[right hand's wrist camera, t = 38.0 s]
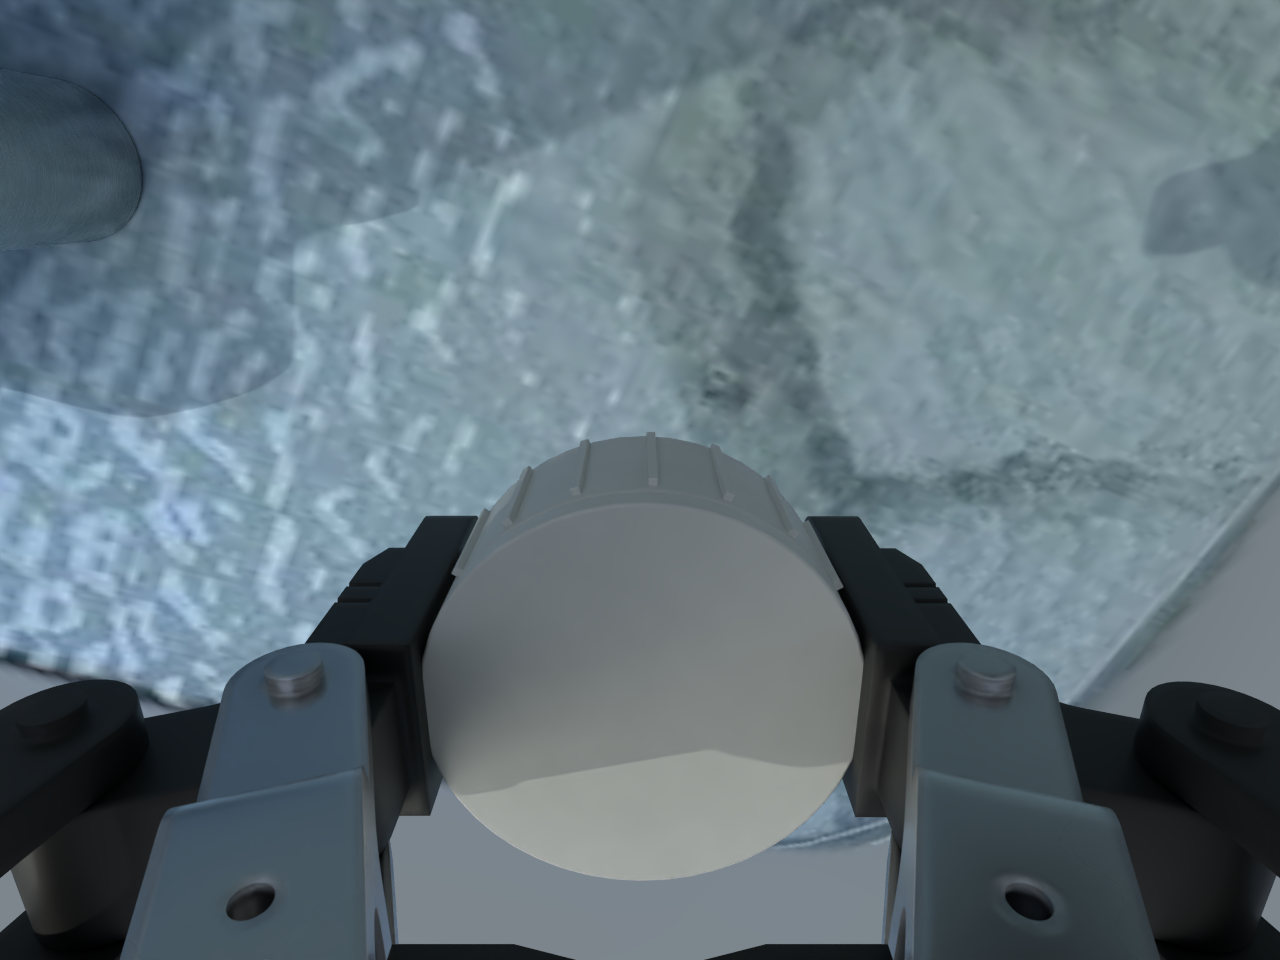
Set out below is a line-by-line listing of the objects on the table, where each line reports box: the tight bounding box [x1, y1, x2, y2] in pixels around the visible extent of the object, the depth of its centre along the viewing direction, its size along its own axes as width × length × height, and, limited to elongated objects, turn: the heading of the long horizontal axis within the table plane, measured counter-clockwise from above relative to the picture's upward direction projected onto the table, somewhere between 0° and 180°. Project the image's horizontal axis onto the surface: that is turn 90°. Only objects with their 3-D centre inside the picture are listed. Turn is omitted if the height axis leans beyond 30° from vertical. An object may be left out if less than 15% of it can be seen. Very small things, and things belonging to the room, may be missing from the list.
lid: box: [422, 432, 864, 881], centre depth 10 cm, size 5×5×2 cm
